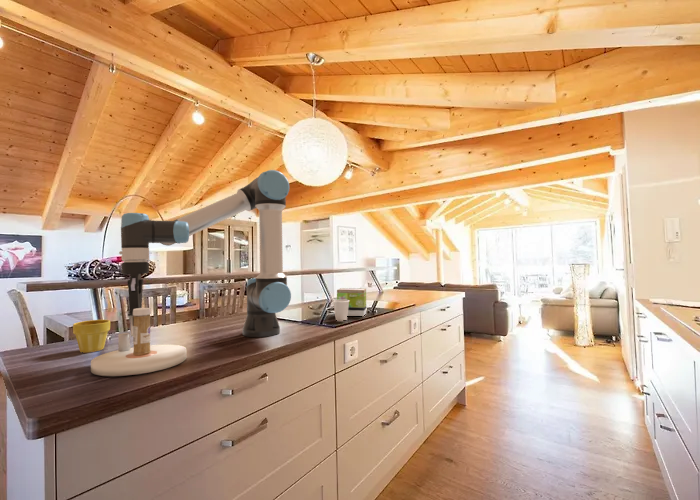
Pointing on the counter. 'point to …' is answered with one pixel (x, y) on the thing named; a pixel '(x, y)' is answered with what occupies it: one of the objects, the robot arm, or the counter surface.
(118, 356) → the disc
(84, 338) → the plant pot
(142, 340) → the sprinkles bottle
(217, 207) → the robot arm
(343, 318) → the dixie cup
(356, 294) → the tea box
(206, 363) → the counter surface
